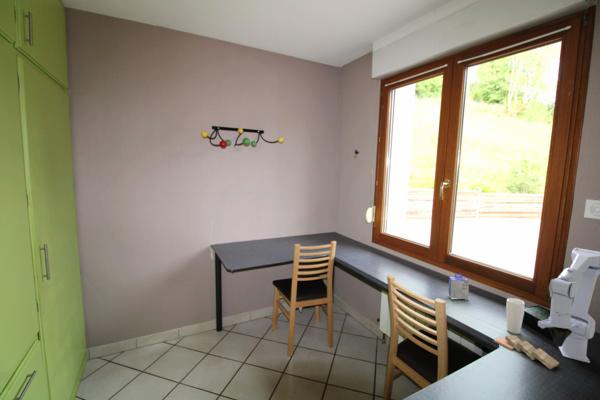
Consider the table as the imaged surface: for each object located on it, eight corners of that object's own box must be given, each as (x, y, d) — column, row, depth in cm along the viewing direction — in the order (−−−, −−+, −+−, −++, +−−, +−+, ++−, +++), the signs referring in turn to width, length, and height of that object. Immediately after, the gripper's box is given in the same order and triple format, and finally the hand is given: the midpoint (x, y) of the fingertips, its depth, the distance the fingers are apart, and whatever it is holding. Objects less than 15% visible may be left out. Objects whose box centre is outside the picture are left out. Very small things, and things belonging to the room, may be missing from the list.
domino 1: (529, 347, 119) (515, 335, 126) (520, 348, 118) (505, 335, 125) (528, 350, 120) (513, 338, 126) (518, 351, 119) (504, 338, 125)
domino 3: (559, 362, 110) (539, 347, 116) (552, 366, 108) (532, 351, 114) (557, 365, 111) (537, 350, 116) (550, 369, 109) (530, 353, 115)
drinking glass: (501, 329, 136) (503, 299, 135) (510, 326, 139) (512, 296, 138) (516, 336, 130) (519, 305, 129) (525, 333, 133) (528, 302, 131)
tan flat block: (542, 355, 115) (526, 340, 121) (534, 357, 113) (517, 342, 119) (541, 357, 115) (524, 342, 121) (532, 359, 114) (516, 344, 120)
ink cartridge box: (465, 296, 172) (466, 273, 170) (468, 301, 166) (470, 277, 165) (447, 295, 174) (448, 272, 172) (450, 299, 168) (451, 275, 167)
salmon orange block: (517, 345, 122) (500, 336, 129) (511, 348, 120) (494, 339, 127) (517, 348, 123) (500, 340, 129) (511, 351, 120) (494, 343, 127)
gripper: (570, 306, 111) (567, 339, 112) (532, 306, 111) (530, 338, 113) (588, 315, 104) (584, 350, 105) (547, 315, 104) (545, 350, 106)
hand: (557, 345), depth 108 cm, fingers closed
